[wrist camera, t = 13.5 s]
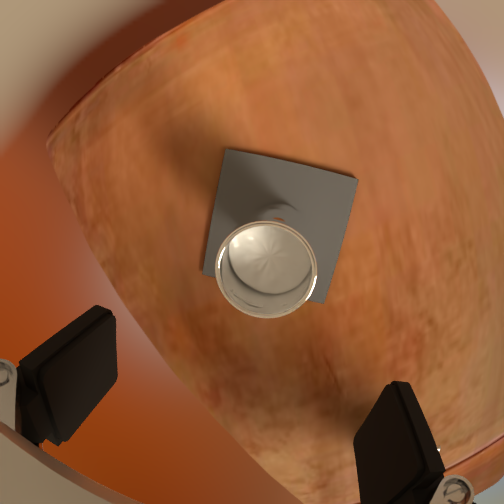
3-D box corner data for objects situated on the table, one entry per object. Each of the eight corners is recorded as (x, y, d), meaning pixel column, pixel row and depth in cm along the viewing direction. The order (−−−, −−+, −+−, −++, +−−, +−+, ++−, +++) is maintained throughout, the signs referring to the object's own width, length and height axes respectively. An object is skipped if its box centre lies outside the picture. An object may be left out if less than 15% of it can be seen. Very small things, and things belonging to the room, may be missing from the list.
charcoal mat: (356, 179, 31) (358, 179, 31) (323, 301, 35) (323, 303, 35) (227, 149, 32) (225, 148, 32) (204, 272, 37) (202, 274, 36)
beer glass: (277, 185, 32) (265, 193, 18) (321, 231, 33) (343, 274, 18) (233, 229, 34) (190, 269, 19) (276, 272, 34) (264, 339, 20)
